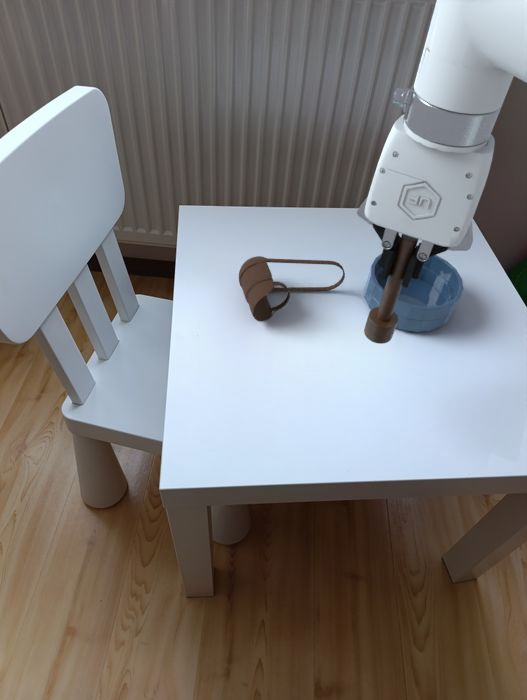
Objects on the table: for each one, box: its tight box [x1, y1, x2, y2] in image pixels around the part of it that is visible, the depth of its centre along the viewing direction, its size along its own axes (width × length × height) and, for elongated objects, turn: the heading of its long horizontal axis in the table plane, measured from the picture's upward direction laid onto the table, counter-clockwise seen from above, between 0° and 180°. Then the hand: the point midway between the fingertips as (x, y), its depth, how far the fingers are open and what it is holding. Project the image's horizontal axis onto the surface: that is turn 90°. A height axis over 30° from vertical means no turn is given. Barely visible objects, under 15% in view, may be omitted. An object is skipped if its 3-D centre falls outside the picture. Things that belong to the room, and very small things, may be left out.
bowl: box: [364, 253, 464, 333], centre depth 91 cm, size 15×15×6 cm
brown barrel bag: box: [238, 255, 346, 322], centre depth 90 cm, size 18×12×7 cm, turn 104°
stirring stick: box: [363, 233, 419, 345], centre depth 62 cm, size 4×4×15 cm
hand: (397, 275), depth 60 cm, fingers closed on stirring stick
